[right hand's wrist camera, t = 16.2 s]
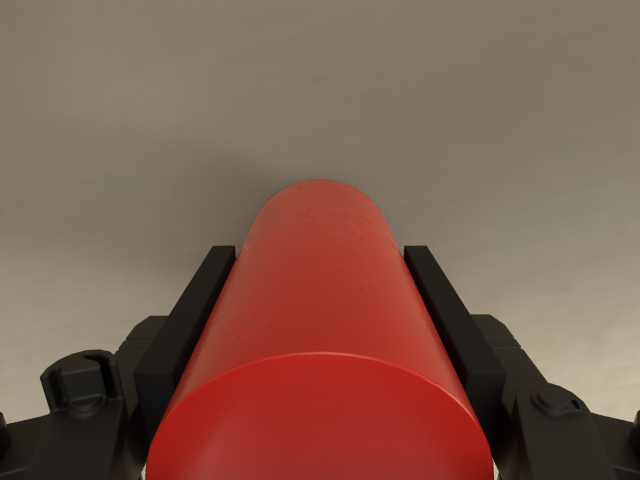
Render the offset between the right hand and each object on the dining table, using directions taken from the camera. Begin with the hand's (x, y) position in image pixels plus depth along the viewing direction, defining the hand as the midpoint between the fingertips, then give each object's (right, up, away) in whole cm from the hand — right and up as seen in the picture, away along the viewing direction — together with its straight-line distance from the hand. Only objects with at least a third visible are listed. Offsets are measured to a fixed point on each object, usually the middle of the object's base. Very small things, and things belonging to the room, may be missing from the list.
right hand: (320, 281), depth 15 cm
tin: (0, +1, +2) cm, 3 cm away
